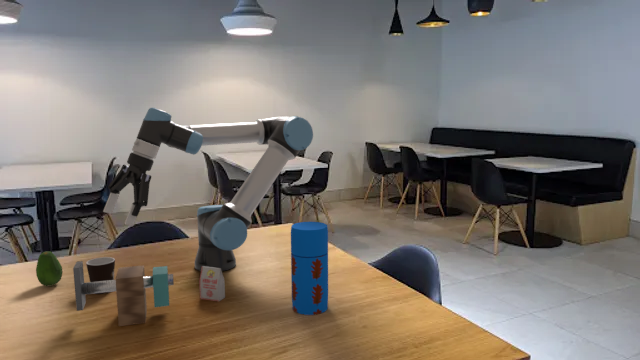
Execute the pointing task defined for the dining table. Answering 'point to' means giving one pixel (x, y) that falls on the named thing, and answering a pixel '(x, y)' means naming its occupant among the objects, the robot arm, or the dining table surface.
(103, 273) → the coffee mug
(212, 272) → the white paper food packet
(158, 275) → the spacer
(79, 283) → the shaft
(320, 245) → the thermos
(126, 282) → the bearing block
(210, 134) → the robot arm
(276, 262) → the dining table surface
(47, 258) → the avocado
